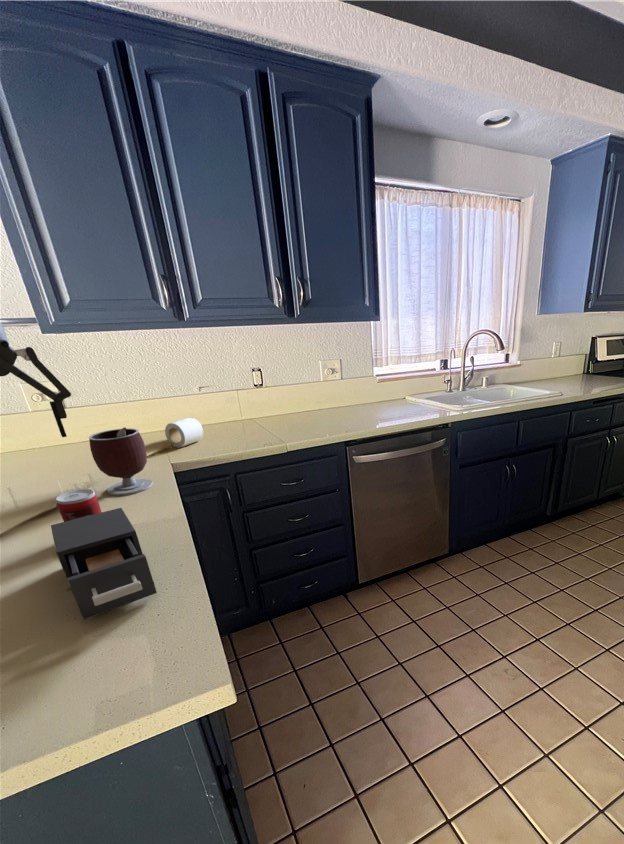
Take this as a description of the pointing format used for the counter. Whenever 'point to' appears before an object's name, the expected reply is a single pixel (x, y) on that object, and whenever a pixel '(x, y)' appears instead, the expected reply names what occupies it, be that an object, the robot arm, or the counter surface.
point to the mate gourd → (121, 458)
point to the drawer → (109, 578)
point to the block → (104, 560)
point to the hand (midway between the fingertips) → (20, 442)
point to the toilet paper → (183, 432)
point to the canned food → (77, 504)
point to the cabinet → (91, 534)
